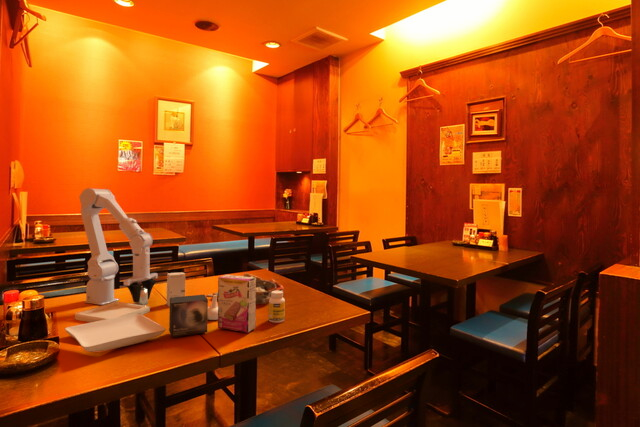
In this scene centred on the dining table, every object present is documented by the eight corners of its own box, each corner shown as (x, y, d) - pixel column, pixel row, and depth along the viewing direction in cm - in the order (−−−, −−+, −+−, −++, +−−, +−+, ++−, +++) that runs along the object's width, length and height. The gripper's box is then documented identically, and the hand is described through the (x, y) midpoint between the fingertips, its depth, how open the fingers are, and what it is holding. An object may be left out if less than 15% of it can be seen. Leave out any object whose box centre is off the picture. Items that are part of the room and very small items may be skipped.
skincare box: (168, 307, 139) (168, 275, 139) (166, 304, 143) (166, 273, 142) (185, 305, 142) (185, 273, 142) (182, 302, 146) (182, 271, 146)
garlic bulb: (206, 315, 131) (206, 292, 130) (224, 315, 131) (224, 293, 130) (201, 321, 124) (201, 297, 124) (220, 321, 124) (220, 297, 124)
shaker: (132, 305, 141) (132, 288, 141) (141, 302, 145) (141, 286, 145) (141, 306, 139) (141, 289, 139) (150, 303, 143) (150, 287, 143)
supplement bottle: (272, 324, 122) (272, 294, 122) (266, 319, 127) (266, 290, 127) (287, 321, 125) (287, 292, 124) (280, 317, 129) (281, 289, 129)
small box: (170, 338, 108) (171, 302, 108) (168, 331, 114) (168, 297, 114) (208, 332, 113) (208, 298, 113) (204, 326, 119) (204, 293, 119)
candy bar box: (216, 328, 117) (217, 277, 116) (225, 324, 121) (226, 274, 121) (248, 333, 113) (248, 280, 113) (256, 328, 118) (256, 276, 117)
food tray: (301, 298, 158) (301, 273, 158) (274, 315, 134) (274, 285, 134) (230, 290, 170) (230, 267, 170) (193, 304, 146) (194, 277, 146)
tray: (74, 319, 123) (74, 313, 123) (116, 306, 138) (116, 301, 138) (110, 325, 118) (110, 319, 118) (149, 311, 133) (149, 306, 133)
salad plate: (139, 322, 123) (139, 311, 123) (167, 339, 108) (167, 327, 108) (63, 338, 108) (63, 326, 108) (83, 361, 93) (83, 347, 93)
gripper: (134, 268, 133) (134, 306, 134) (163, 262, 147) (163, 296, 147) (119, 267, 136) (119, 304, 136) (149, 261, 149) (149, 295, 150)
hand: (141, 300), depth 142 cm, fingers closed on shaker, 4 cm apart
